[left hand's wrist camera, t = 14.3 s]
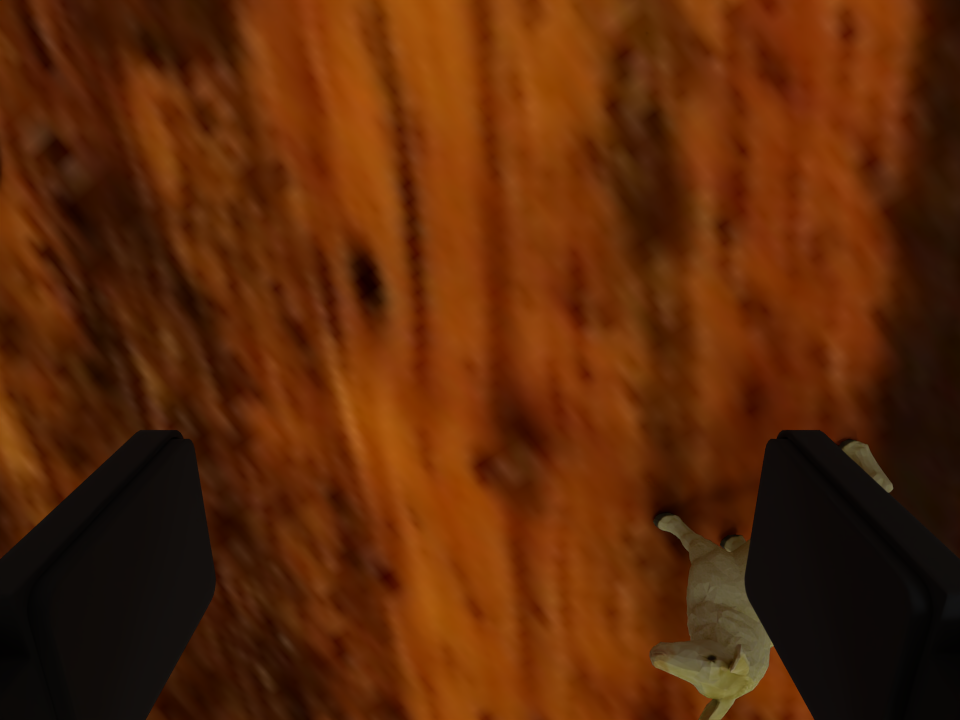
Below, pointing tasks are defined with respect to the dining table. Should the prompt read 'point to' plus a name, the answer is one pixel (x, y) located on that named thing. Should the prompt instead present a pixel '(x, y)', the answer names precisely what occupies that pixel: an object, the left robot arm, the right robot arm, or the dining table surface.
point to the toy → (726, 611)
